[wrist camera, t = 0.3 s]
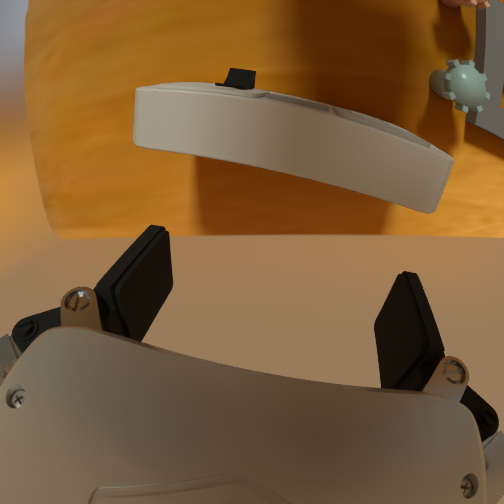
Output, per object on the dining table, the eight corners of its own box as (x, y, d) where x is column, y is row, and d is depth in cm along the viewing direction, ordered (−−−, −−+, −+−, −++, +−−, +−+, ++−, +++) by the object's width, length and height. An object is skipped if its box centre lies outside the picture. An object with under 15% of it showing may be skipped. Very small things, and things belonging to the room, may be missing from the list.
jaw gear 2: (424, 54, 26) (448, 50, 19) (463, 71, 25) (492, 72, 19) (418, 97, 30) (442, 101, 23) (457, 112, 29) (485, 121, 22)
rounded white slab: (407, 113, 31) (472, 140, 16) (393, 163, 36) (442, 220, 21) (201, 67, 33) (126, 63, 18) (194, 117, 37) (122, 146, 23)
